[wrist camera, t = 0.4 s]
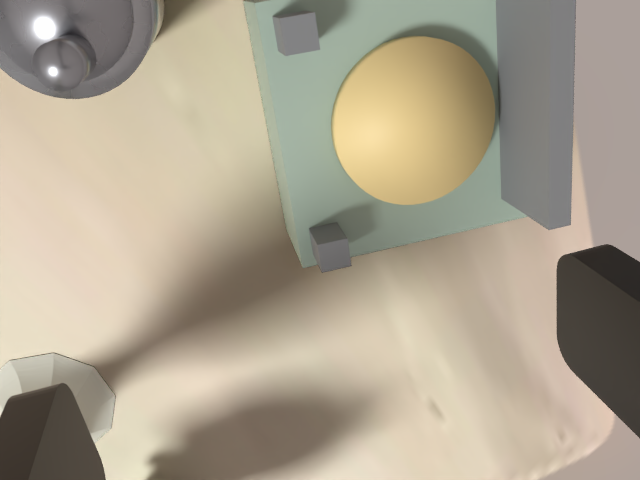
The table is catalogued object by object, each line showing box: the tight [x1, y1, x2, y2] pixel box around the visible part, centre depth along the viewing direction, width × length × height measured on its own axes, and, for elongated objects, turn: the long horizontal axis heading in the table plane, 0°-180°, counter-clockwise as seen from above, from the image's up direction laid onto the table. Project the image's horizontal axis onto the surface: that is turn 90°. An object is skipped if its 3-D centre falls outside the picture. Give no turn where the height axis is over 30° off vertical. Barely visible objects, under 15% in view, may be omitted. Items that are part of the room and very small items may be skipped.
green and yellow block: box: [243, 0, 576, 273], centre depth 32 cm, size 14×14×11 cm
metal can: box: [0, 0, 165, 99], centre depth 24 cm, size 6×6×17 cm
